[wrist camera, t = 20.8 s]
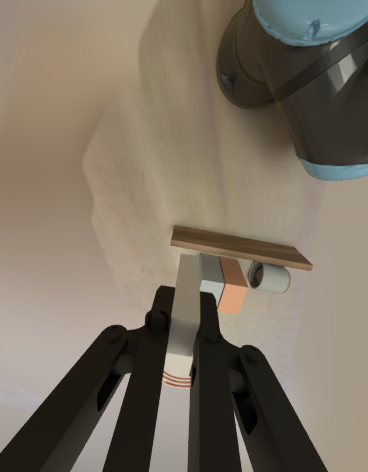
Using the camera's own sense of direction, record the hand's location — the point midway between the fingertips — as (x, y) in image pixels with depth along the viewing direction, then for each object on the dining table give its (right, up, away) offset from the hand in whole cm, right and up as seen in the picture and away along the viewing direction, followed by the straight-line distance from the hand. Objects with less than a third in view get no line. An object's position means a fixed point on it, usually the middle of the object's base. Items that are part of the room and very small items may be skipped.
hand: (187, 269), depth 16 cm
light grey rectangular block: (+6, -6, +39) cm, 40 cm away
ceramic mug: (+22, -5, +38) cm, 45 cm away
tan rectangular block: (+11, -7, +39) cm, 41 cm away
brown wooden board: (+13, +2, +35) cm, 37 cm away
